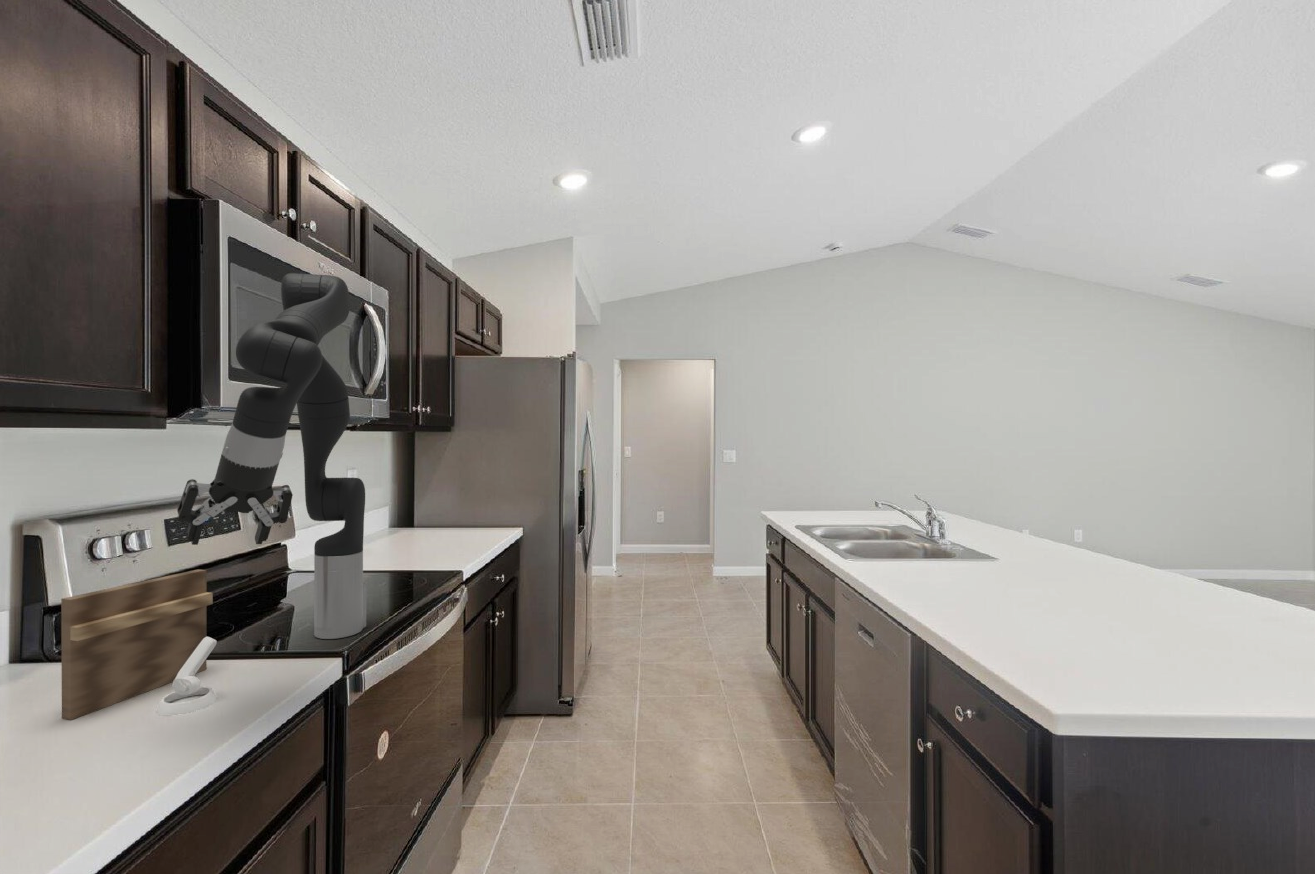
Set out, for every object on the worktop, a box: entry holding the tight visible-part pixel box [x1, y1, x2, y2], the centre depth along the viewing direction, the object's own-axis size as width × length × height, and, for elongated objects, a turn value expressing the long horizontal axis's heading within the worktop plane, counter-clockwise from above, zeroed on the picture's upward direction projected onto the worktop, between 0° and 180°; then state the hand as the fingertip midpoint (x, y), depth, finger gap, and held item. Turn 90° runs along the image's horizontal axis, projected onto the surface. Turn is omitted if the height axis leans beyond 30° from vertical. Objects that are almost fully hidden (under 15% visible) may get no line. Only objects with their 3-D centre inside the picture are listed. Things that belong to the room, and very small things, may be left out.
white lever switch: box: [155, 636, 218, 717], centre depth 96 cm, size 8×12×7 cm
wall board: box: [60, 568, 214, 721], centre depth 99 cm, size 20×4×18 cm, turn 163°
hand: (226, 541), depth 96 cm, fingers open, 8 cm apart
